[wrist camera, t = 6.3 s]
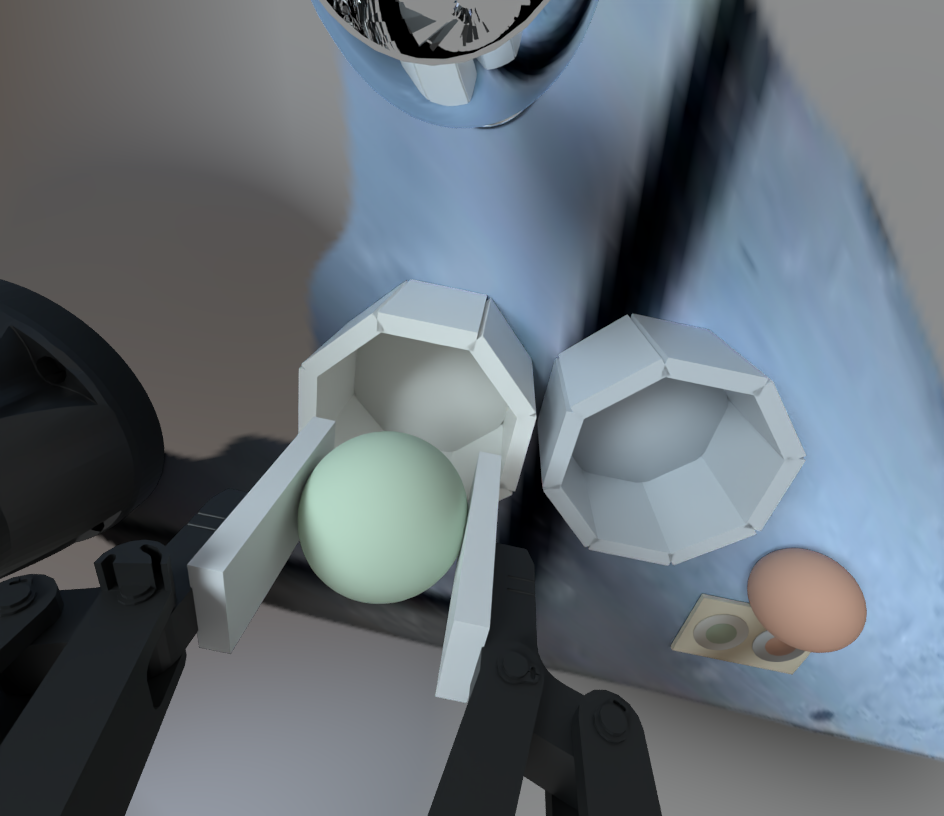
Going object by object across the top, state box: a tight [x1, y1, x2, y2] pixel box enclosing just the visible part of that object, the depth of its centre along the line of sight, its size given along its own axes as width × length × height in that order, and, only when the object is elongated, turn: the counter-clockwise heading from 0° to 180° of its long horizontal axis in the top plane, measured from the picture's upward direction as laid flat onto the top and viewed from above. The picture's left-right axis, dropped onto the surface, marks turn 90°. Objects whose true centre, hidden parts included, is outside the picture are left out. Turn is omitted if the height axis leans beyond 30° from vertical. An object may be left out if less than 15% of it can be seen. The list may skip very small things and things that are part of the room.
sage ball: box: [297, 431, 468, 604], centre depth 14 cm, size 5×5×5 cm
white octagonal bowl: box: [298, 279, 536, 502], centre depth 20 cm, size 9×9×6 cm
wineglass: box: [311, 0, 599, 128], centre depth 11 cm, size 6×6×12 cm
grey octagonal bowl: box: [537, 314, 806, 566], centre depth 20 cm, size 9×9×6 cm
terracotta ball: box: [747, 548, 867, 653], centre depth 24 cm, size 5×5×5 cm
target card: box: [671, 594, 811, 674], centre depth 29 cm, size 8×5×1 cm, turn 79°
